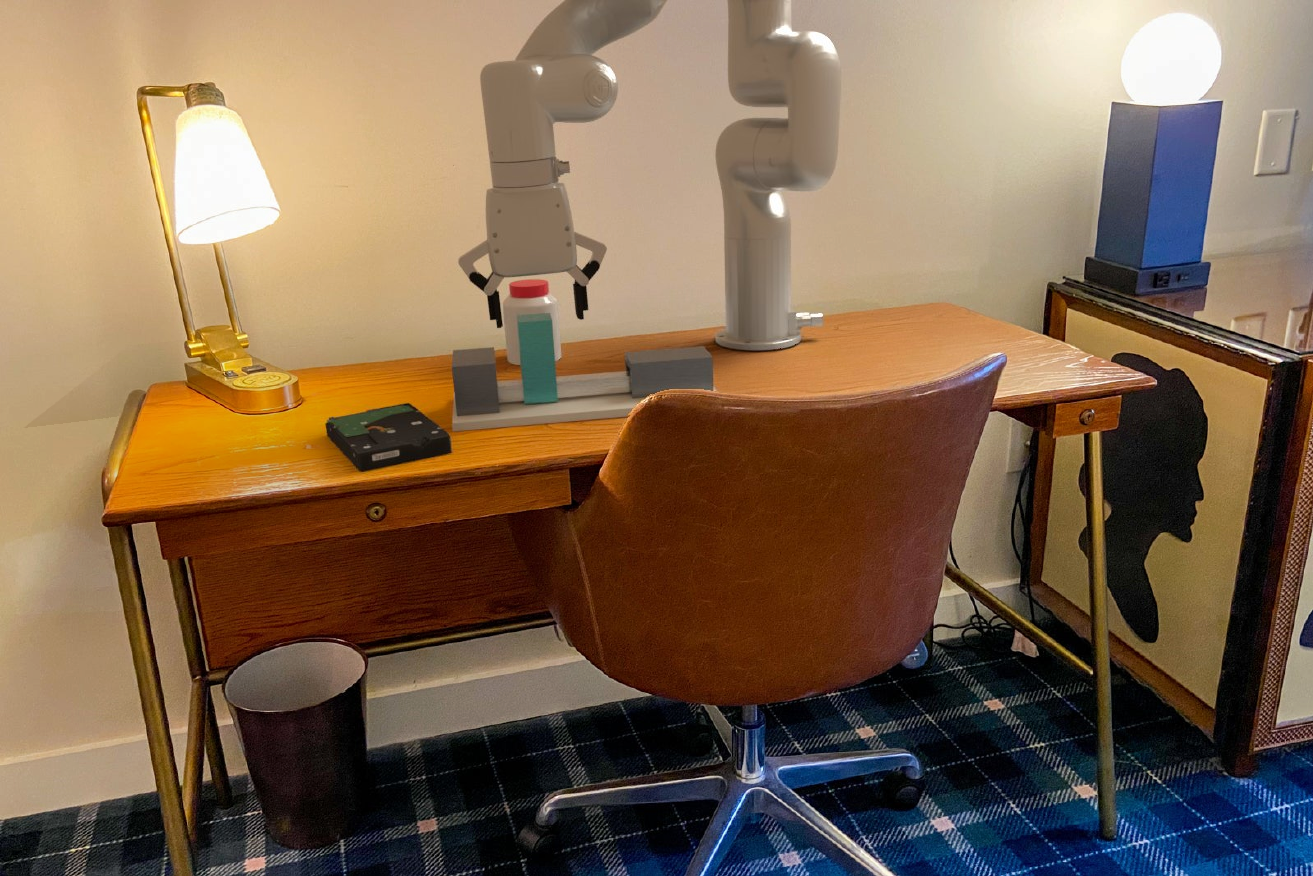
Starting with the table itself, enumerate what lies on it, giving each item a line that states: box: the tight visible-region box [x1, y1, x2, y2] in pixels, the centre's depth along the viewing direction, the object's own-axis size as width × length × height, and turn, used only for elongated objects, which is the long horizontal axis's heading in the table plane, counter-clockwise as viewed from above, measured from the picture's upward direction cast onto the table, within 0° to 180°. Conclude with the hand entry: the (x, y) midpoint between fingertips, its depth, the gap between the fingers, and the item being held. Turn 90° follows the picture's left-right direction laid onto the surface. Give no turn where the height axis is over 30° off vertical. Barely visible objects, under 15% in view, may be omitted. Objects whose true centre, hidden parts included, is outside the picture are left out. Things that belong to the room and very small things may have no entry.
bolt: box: [497, 313, 631, 404], centre depth 129 cm, size 21×4×10 cm, turn 99°
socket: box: [451, 346, 500, 416], centre depth 128 cm, size 5×8×6 cm, turn 9°
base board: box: [451, 385, 718, 432], centre depth 131 cm, size 32×13×1 cm, turn 99°
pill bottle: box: [502, 278, 562, 366], centre depth 151 cm, size 8×8×11 cm
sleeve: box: [624, 345, 714, 399], centre depth 131 cm, size 10×6×4 cm, turn 99°
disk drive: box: [324, 402, 453, 473], centre depth 119 cm, size 10×3×15 cm
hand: (540, 321), depth 127 cm, fingers open, 9 cm apart
